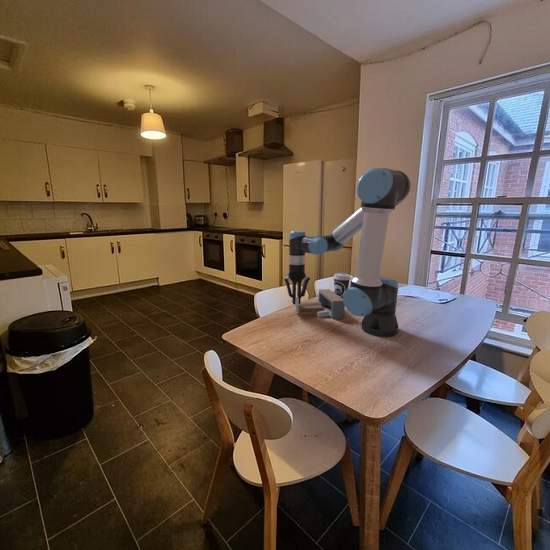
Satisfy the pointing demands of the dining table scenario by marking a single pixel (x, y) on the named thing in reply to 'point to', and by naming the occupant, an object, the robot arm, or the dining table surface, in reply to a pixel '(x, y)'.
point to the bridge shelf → (331, 304)
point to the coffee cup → (341, 283)
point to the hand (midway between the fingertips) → (296, 310)
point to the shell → (309, 308)
